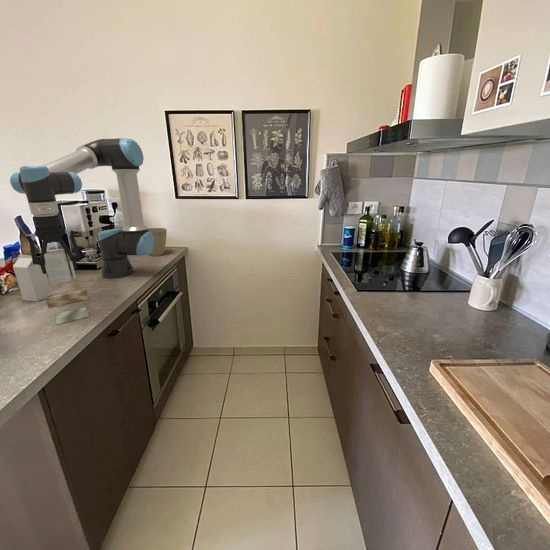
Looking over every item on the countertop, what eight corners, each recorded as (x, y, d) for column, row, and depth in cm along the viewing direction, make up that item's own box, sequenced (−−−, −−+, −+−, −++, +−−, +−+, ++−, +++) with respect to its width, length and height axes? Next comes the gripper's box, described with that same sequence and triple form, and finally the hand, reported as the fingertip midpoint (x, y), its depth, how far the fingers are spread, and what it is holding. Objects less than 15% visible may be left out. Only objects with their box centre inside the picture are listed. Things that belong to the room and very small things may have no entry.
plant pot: (161, 258, 184) (157, 232, 179) (139, 257, 188) (135, 231, 182) (174, 252, 198) (171, 228, 193) (154, 250, 201) (150, 227, 196)
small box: (56, 277, 111) (49, 249, 107) (74, 275, 113) (67, 247, 109) (50, 284, 104) (42, 254, 100) (69, 281, 106) (62, 252, 102)
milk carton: (37, 301, 125) (24, 258, 119) (23, 300, 126) (9, 257, 120) (52, 295, 132) (40, 253, 125) (39, 294, 133) (26, 252, 127)
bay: (88, 298, 128) (86, 289, 127) (95, 315, 113) (93, 305, 112) (48, 307, 120) (45, 297, 119) (50, 326, 105) (47, 316, 104)
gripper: (7, 219, 92) (28, 289, 100) (81, 213, 103) (95, 276, 111) (8, 216, 98) (28, 282, 105) (78, 211, 109) (92, 271, 116)
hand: (62, 279), depth 108 cm, fingers closed on small box, 6 cm apart
